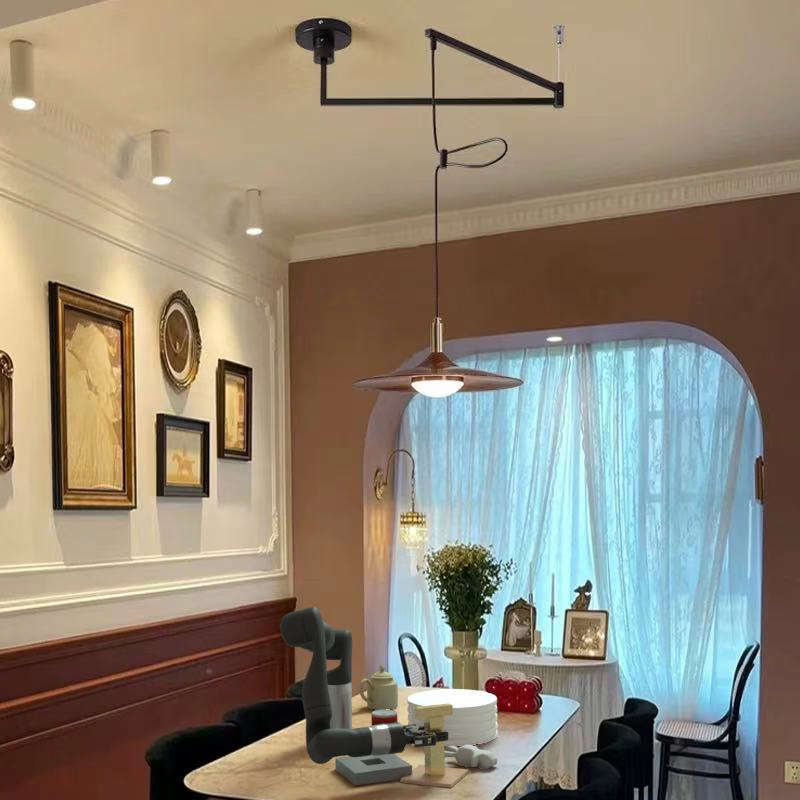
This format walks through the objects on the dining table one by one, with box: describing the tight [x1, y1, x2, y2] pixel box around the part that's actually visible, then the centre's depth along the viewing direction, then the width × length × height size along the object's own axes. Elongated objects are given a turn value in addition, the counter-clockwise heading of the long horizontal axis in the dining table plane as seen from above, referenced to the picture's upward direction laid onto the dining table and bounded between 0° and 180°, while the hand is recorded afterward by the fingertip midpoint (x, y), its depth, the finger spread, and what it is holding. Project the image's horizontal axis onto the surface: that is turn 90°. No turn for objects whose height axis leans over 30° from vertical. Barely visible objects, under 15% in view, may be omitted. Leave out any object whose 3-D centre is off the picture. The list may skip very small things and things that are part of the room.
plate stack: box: [406, 688, 499, 746], centre depth 289 cm, size 28×28×12 cm
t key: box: [415, 703, 453, 777], centre depth 245 cm, size 10×4×18 cm, turn 112°
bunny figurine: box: [444, 745, 498, 770], centre depth 255 cm, size 10×5×15 cm
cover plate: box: [334, 753, 413, 786], centre depth 249 cm, size 16×16×3 cm
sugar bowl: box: [358, 664, 399, 711], centre depth 329 cm, size 15×11×15 cm
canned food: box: [371, 709, 398, 726], centre depth 272 cm, size 8×8×11 cm
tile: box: [400, 764, 469, 788], centre depth 244 cm, size 14×14×1 cm
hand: (441, 732), depth 246 cm, fingers open, 8 cm apart
